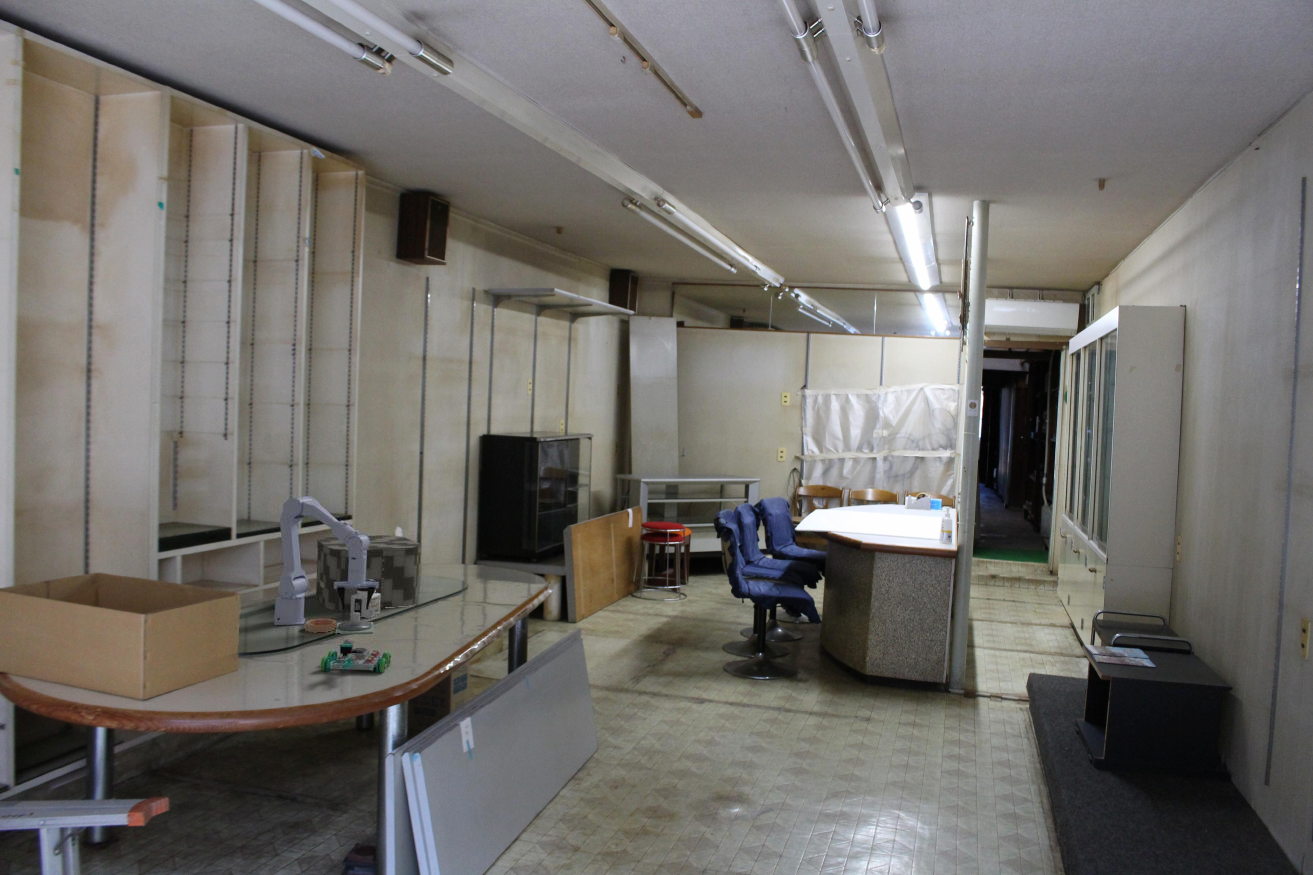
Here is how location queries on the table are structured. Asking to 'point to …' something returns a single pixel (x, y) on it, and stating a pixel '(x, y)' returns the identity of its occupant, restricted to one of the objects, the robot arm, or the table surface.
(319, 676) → the table surface
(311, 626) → the bowl
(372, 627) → the mat
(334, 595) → the storage box
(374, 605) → the container
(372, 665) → the robot kit
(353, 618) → the lid
